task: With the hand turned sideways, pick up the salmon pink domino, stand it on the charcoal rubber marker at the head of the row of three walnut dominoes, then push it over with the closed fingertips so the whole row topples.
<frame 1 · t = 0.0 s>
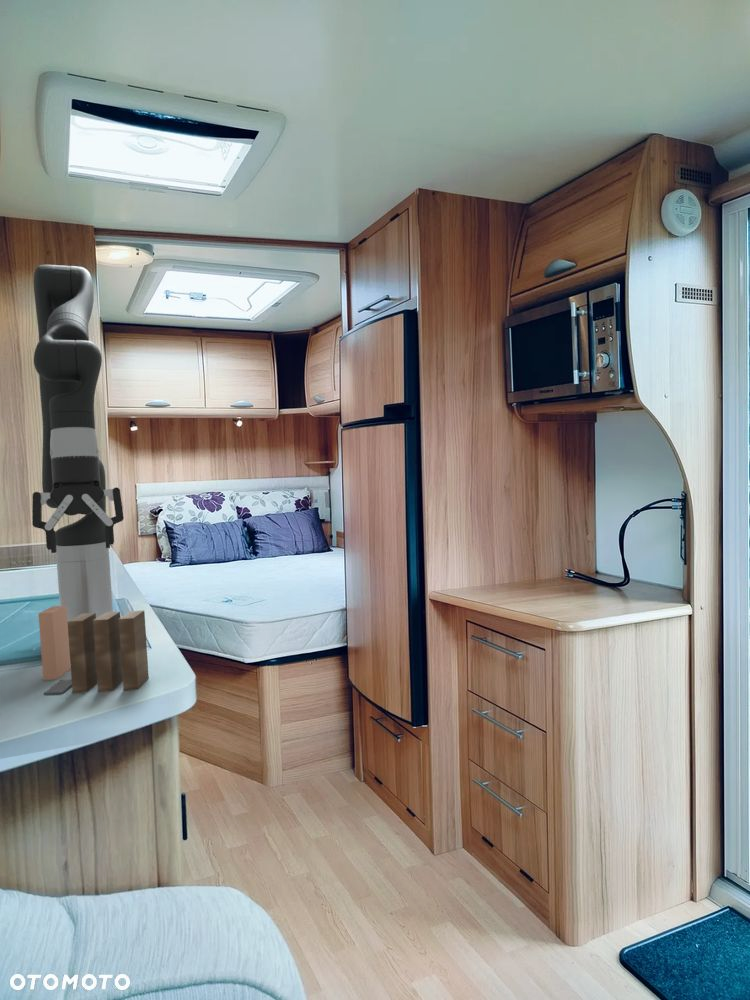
hand: (81, 550, 117), 17 cm above the worktop, tool pointing down, fingers open, 8 cm apart
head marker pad: (61, 687, 97), on the worktop
walnut domino 3: (111, 685, 97), on the worktop
salmon pink domino: (57, 674, 104), on the worktop
walnut domino 2: (86, 686, 97), on the worktop
walnut domino 4: (136, 683, 97), on the worktop
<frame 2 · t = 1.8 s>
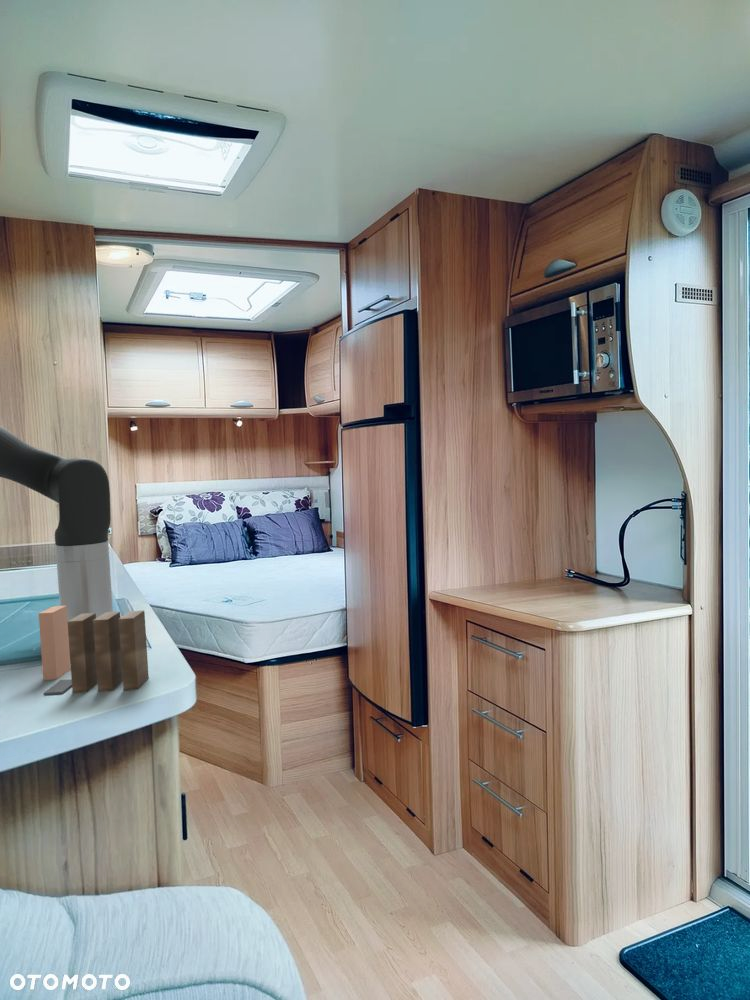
nothing on the worktop moved.
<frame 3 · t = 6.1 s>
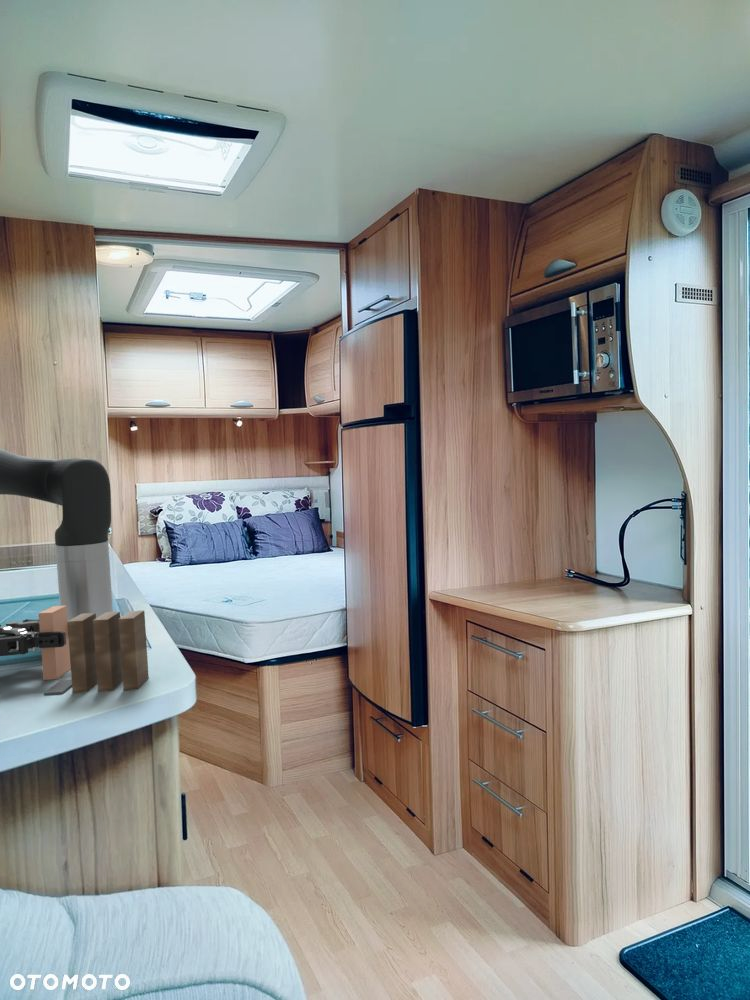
hand: (72, 634, 104), 6 cm above the worktop, tool horizontal, fingers closed on salmon pink domino, 5 cm apart
salmon pink domino: (57, 674, 104), on the worktop, touching gripper
everything else where it was.
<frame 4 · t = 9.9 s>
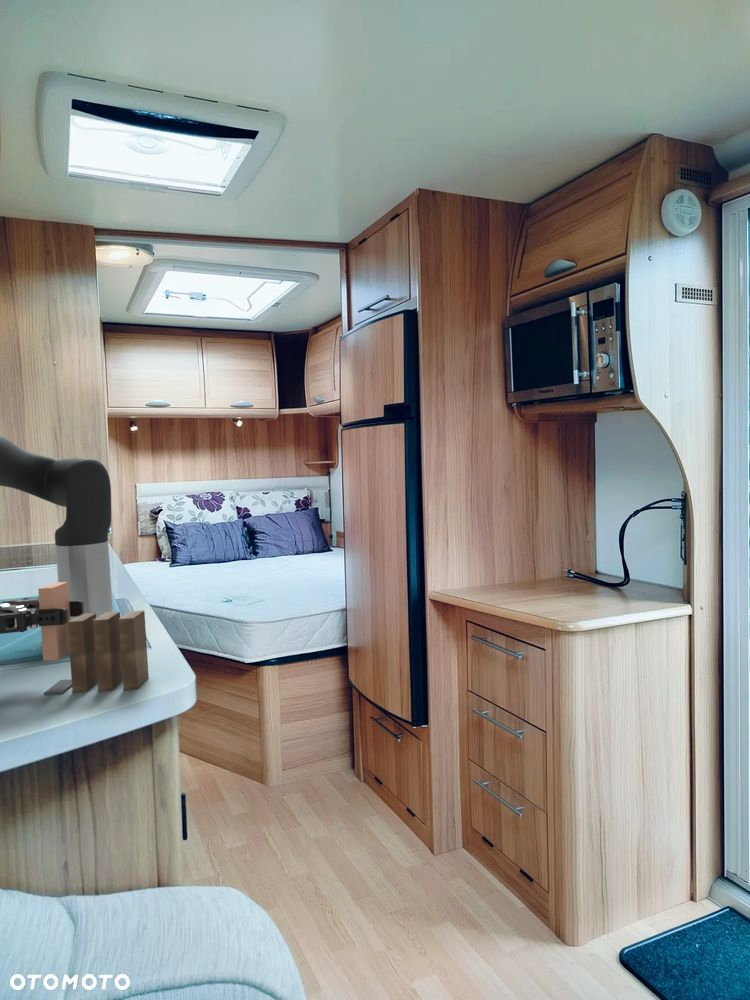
hand: (74, 611, 96), 11 cm above the worktop, tool horizontal, fingers closed on salmon pink domino, 5 cm apart
salmon pink domino: (58, 655, 97), point 5 cm above the worktop, touching gripper
walnut domino 2: (86, 686, 97), on the worktop, touching gripper
everything else where it was.
when the fingers open (7 cm above the worktop, at t = 11.0 s): salmon pink domino stays where it is, resting on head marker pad.
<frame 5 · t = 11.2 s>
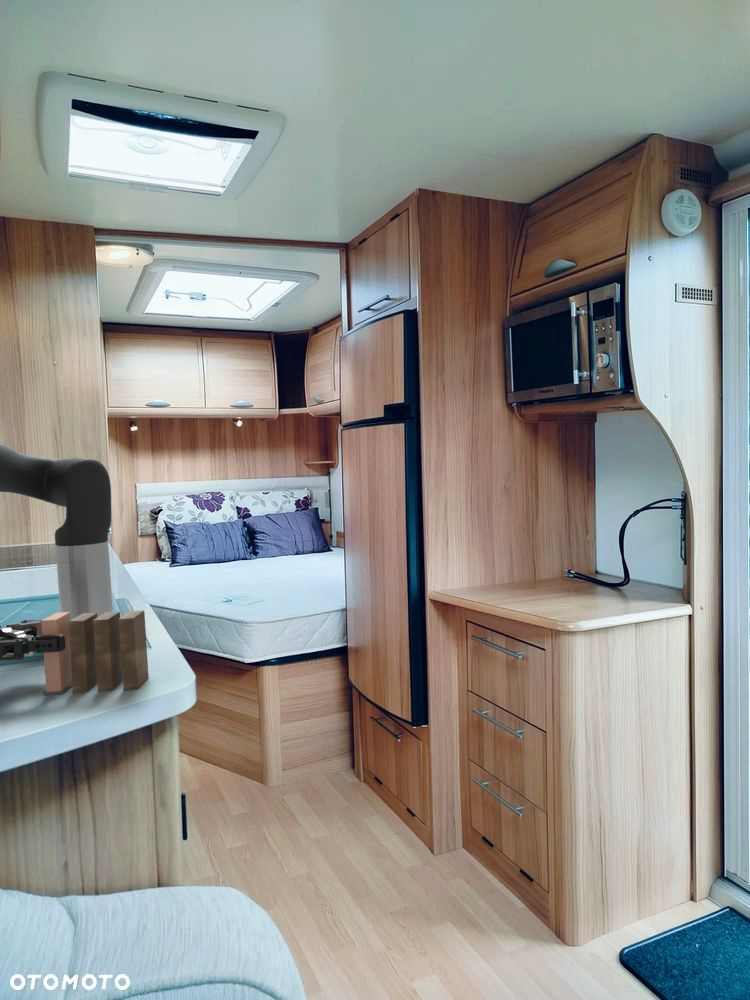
hand: (74, 636, 97), 7 cm above the worktop, tool horizontal, fingers open, 6 cm apart
salmon pink domino: (61, 685, 97), resting on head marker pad
walnut domino 2: (86, 686, 97), on the worktop
everything else where it was.
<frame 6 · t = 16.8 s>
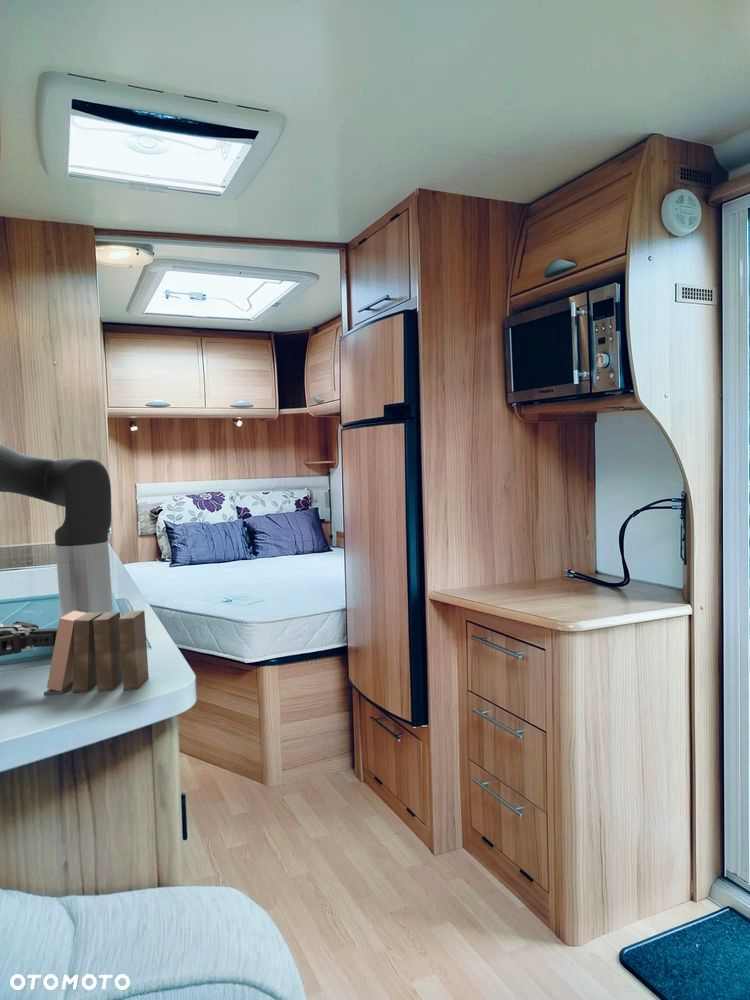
hand: (61, 636, 97), 7 cm above the worktop, tool horizontal, fingers closed
salmon pink domino: (61, 684, 97), point 1 cm above the worktop, tilted 14°, touching gripper, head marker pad
everything else where it was.
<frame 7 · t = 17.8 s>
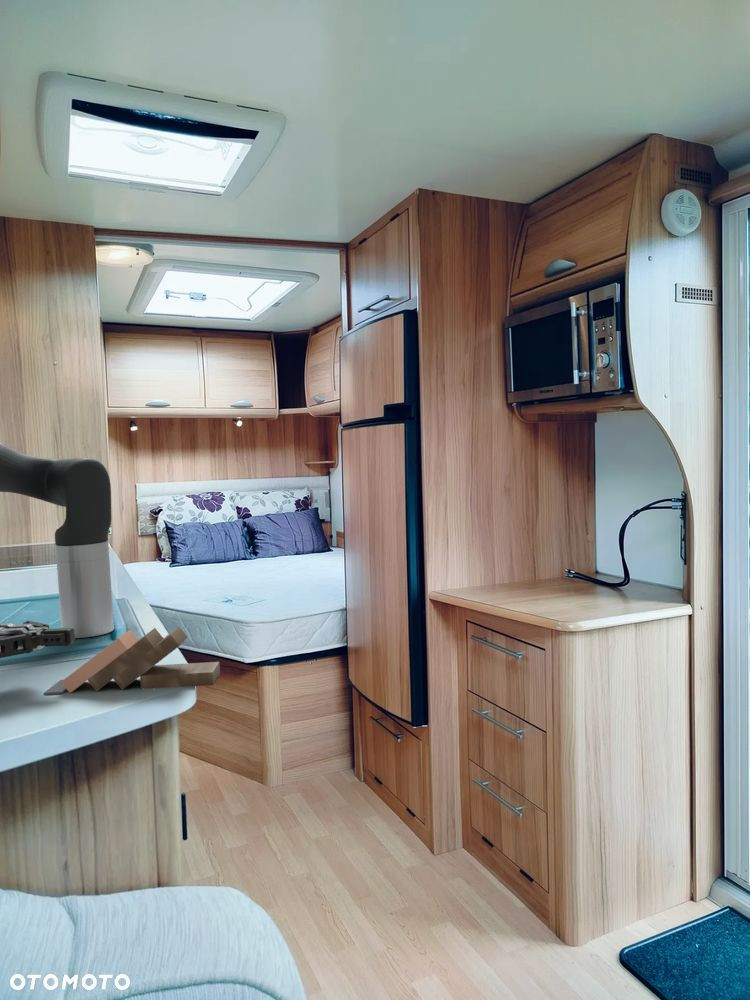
hand: (72, 636, 97), 7 cm above the worktop, tool horizontal, fingers closed
walnut domino 3: (123, 678, 97), point 1 cm above the worktop, tilted 55°, touching walnut domino 2, walnut domino 4
salmon pink domino: (72, 681, 97), point 1 cm above the worktop, tilted 55°, touching walnut domino 2
walnut domino 2: (98, 680, 97), point 1 cm above the worktop, tilted 55°, touching salmon pink domino, walnut domino 3
walnut domino 4: (145, 677, 97), point 1 cm above the worktop, tilted 90°, touching walnut domino 3
everything else where it was.
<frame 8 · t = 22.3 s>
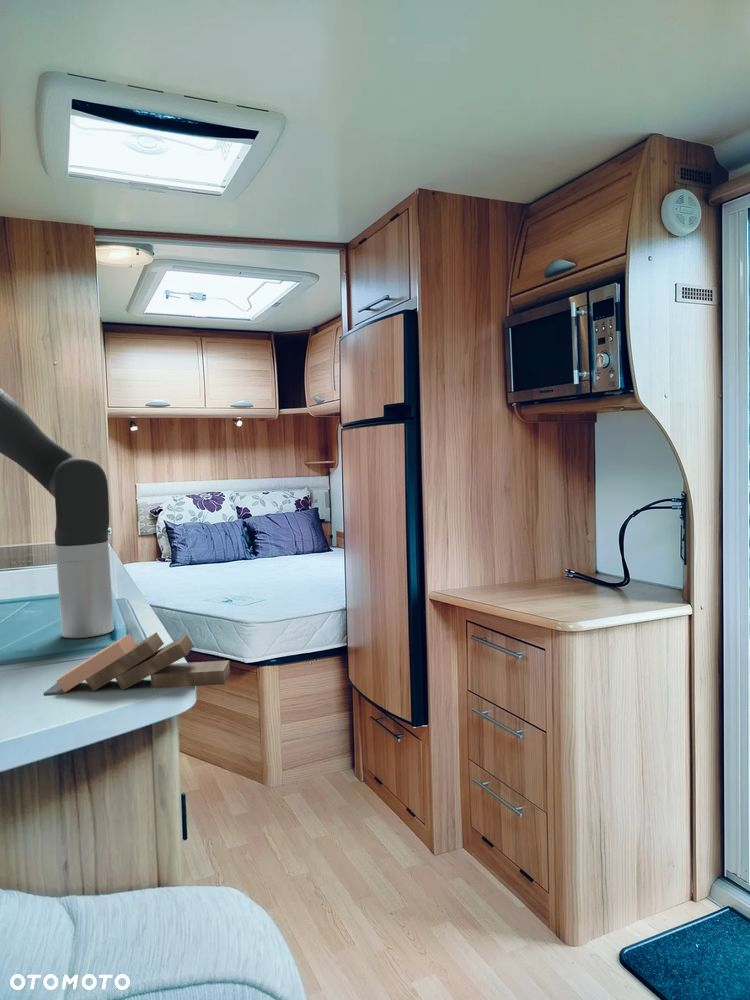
walnut domino 3: (124, 678, 97), point 1 cm above the worktop, tilted 64°, touching walnut domino 2, walnut domino 4
salmon pink domino: (67, 680, 97), point 1 cm above the worktop, tilted 61°, touching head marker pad, walnut domino 2
walnut domino 2: (95, 679, 97), point 1 cm above the worktop, tilted 61°, touching salmon pink domino, walnut domino 3
walnut domino 4: (156, 676, 97), point 1 cm above the worktop, tilted 90°, touching walnut domino 3
everything else where it was.
at the end: salmon pink domino inside the target area (0.8 cm from its centre), point 1.0 cm above the worktop; salmon pink domino tilted 61°; walnut domino 4 tilted 90° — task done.
